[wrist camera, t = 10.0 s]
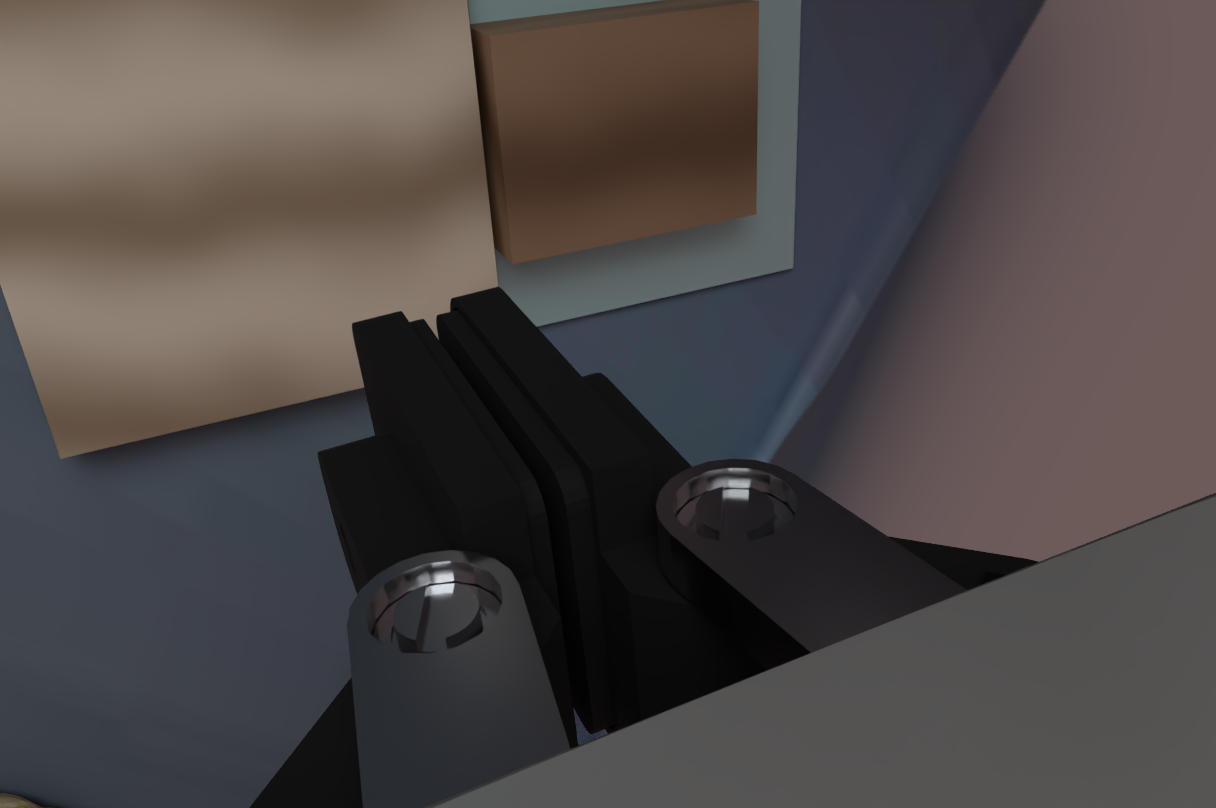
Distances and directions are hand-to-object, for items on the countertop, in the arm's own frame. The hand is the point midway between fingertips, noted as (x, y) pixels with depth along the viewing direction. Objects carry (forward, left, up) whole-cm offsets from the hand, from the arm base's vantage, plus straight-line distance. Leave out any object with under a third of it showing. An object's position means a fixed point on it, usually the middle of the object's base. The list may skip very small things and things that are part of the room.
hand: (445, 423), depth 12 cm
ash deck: (+3, 0, -23) cm, 23 cm away
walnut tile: (+3, +12, -23) cm, 26 cm away
